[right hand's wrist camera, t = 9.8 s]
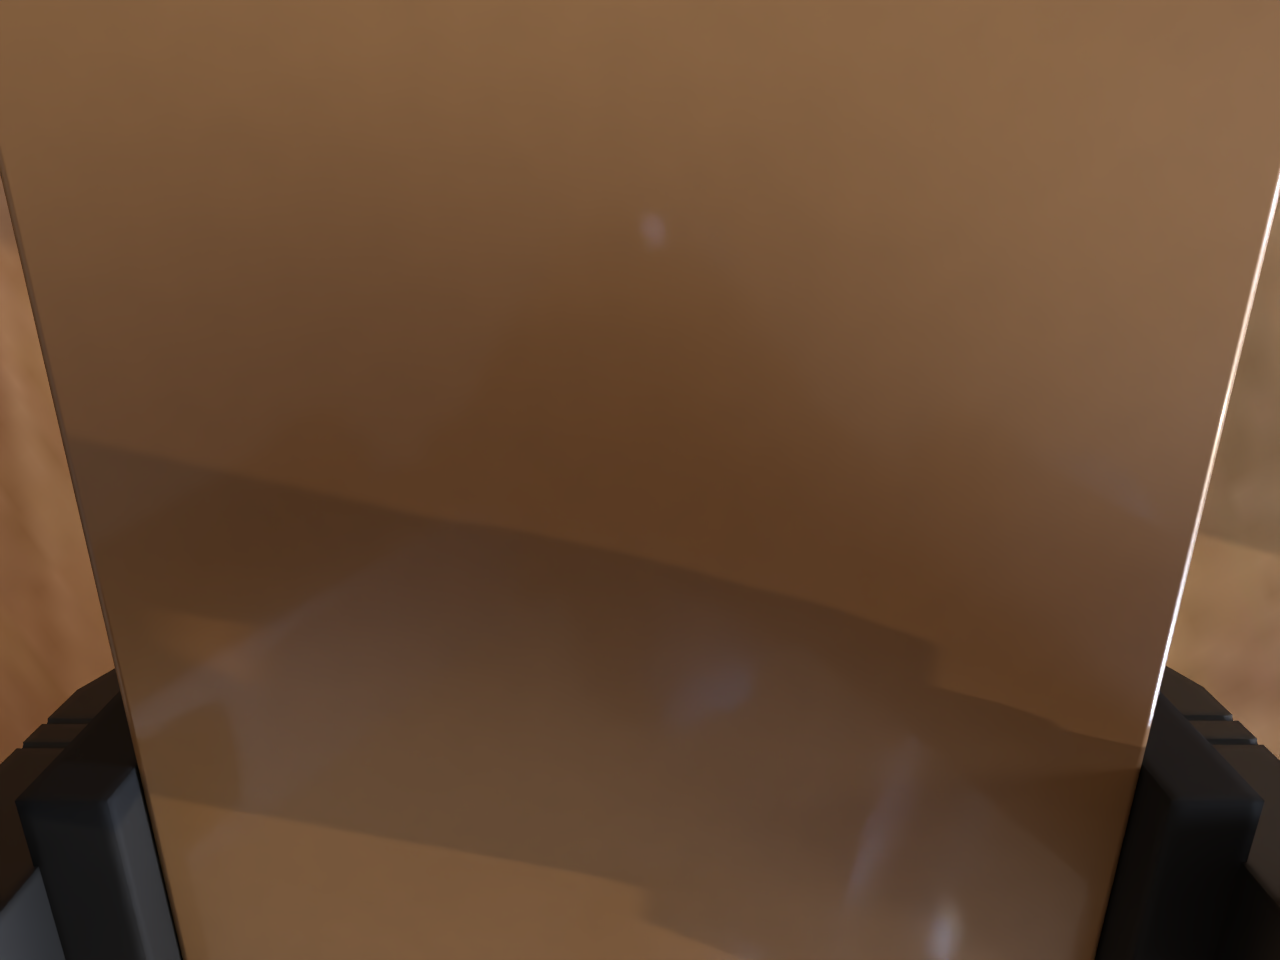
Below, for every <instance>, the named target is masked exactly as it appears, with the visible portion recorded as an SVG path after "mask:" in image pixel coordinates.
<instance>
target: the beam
mask: <svg viewBox="0 0 1280 960" xmlns="http://www.w3.org/2000/svg"><path fill="white" fill-rule="evenodd" d="M0 174H1V178H2V183H3V187H4V191H5V196H6V200H7V204H8V209H9V213H10V217H11V222H12V226H13V230H14V234H15V239H16V243H17V247H18V252H19V256H20V260H21V265H22V269H23V273H24V278H25V282H26V286H27V290H28V295H29V299H30V303H31V308H32V312H33V316H34V321H35V325H36V329H37V334H38V338H39V342H40V346H41V351H42V355H43V359H44V364H45V368H46V372H47V377H48V381H49V385H50V390H51V394H52V398H53V402H54V407H55V411H56V415H57V420H58V424H59V428H60V433H61V437H62V441H63V446H64V450H65V454H66V458H67V463H68V467H69V471H70V476H71V480H72V484H73V489H74V493H75V497H76V502H77V506H78V510H79V514H80V519H81V523H82V527H83V532H84V536H85V540H86V545H87V549H88V553H89V557H90V562H91V566H92V570H93V575H94V579H95V583H96V588H97V592H98V596H99V601H100V605H101V609H102V613H103V618H104V622H105V626H106V631H107V635H108V639H109V644H110V648H111V652H112V657H113V661H114V665H115V669H116V674H117V678H118V682H119V687H120V691H121V695H122V700H123V704H124V708H125V713H126V717H127V721H128V725H129V730H130V734H131V738H132V743H133V747H134V751H135V756H136V760H137V764H138V769H139V773H140V777H141V781H142V786H143V790H144V794H145V799H146V803H147V807H148V812H149V816H150V820H151V825H152V829H153V833H154V837H155V842H156V846H157V850H158V855H159V859H160V863H161V868H162V872H163V876H164V880H165V885H166V889H167V893H168V898H169V902H170V906H171V911H172V915H173V919H174V924H175V928H176V932H177V936H178V941H179V945H180V949H181V954H182V958H183V960H1095V956H1096V951H1097V947H1098V943H1099V939H1100V935H1101V931H1102V927H1103V922H1104V918H1105V914H1106V910H1107V906H1108V902H1109V898H1110V893H1111V889H1112V885H1113V881H1114V877H1115V873H1116V869H1117V864H1118V860H1119V856H1120V852H1121V848H1122V844H1123V840H1124V835H1125V831H1126V827H1127V823H1128V819H1129V815H1130V811H1131V806H1132V802H1133V798H1134V794H1135V790H1136V786H1137V782H1138V777H1139V773H1140V769H1141V765H1142V761H1143V757H1144V753H1145V748H1146V744H1147V740H1148V736H1149V732H1150V728H1151V724H1152V719H1153V715H1154V711H1155V707H1156V703H1157V699H1158V695H1159V690H1160V686H1161V682H1162V678H1163V674H1164V670H1165V666H1166V661H1167V657H1168V653H1169V649H1170V645H1171V641H1172V637H1173V632H1174V628H1175V624H1176V620H1177V616H1178V612H1179V608H1180V603H1181V599H1182V595H1183V591H1184V587H1185V583H1186V579H1187V574H1188V570H1189V566H1190V562H1191V558H1192V554H1193V550H1194V545H1195V541H1196V537H1197V533H1198V529H1199V525H1200V521H1201V516H1202V512H1203V508H1204V504H1205V500H1206V496H1207V492H1208V487H1209V483H1210V479H1211V475H1212V471H1213V467H1214V463H1215V458H1216V454H1217V450H1218V446H1219V442H1220V438H1221V434H1222V429H1223V425H1224V421H1225V417H1226V413H1227V409H1228V405H1229V400H1230V396H1231V392H1232V388H1233V384H1234V380H1235V376H1236V371H1237V367H1238V363H1239V359H1240V355H1241V351H1242V347H1243V342H1244V338H1245V334H1246V330H1247V326H1248V322H1249V318H1250V313H1251V309H1252V305H1253V301H1254V297H1255V293H1256V289H1257V284H1258V280H1259V276H1260V272H1261V268H1262V264H1263V260H1264V255H1265V251H1266V247H1267V243H1268V239H1269V235H1270V231H1271V226H1272V222H1273V218H1274V214H1275V210H1276V206H1277V202H1278V197H1279V193H1280V0H0Z"/></svg>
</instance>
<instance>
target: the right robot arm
mask: <svg viewBox="0 0 1280 960" xmlns="http://www.w3.org/2000/svg"><path fill="white" fill-rule="evenodd" d="M0 960H183V958H182V954H181V949H180V945H179V941H178V936H177V932H176V928H175V924H174V919H173V915H172V911H171V906H170V902H169V898H168V893H167V889H166V885H165V880H164V876H163V872H162V868H161V863H160V859H159V855H158V850H157V846H156V842H155V837H154V833H153V829H152V825H151V820H150V816H149V812H148V807H147V803H146V799H145V794H144V790H143V786H142V781H141V777H140V773H139V769H138V764H137V760H136V756H135V751H134V747H133V743H132V738H131V734H130V730H129V725H128V721H127V717H126V713H125V708H124V704H123V700H122V695H121V691H120V687H119V682H118V678H117V674H116V669H113V670H111V671H110V672H108V673H106V674H104V675H103V676H101V677H99V678H97V679H96V680H94V681H92V682H90V683H89V684H87V685H85V686H83V687H82V688H80V689H78V690H77V691H76V692H75V693H74V694H73V695H72V696H71V697H70V698H68V699H67V700H66V701H65V702H64V703H63V704H62V705H61V706H60V707H59V708H58V709H57V710H56V711H55V712H54V713H53V714H52V715H51V716H50V717H49V718H48V723H47V724H42V725H41V726H40V727H39V728H38V729H36V730H35V731H34V732H33V733H32V734H31V735H30V736H29V737H28V738H27V739H26V740H25V741H24V742H23V748H17V749H16V750H15V751H14V752H13V753H12V754H11V755H10V756H9V757H8V758H7V759H5V760H4V761H3V762H2V763H1V764H0ZM1095 960H1280V761H1279V760H1278V759H1277V758H1276V757H1275V756H1274V755H1273V754H1272V753H1271V752H1270V751H1269V750H1268V749H1267V748H1266V747H1265V746H1264V745H1258V744H1257V738H1256V737H1255V736H1253V735H1252V734H1251V733H1250V732H1249V731H1248V730H1247V729H1246V728H1245V727H1244V726H1243V725H1242V724H1241V723H1240V722H1239V721H1233V719H1232V714H1231V713H1230V712H1229V711H1227V710H1226V709H1225V708H1224V707H1223V706H1222V705H1221V704H1220V703H1219V702H1218V701H1217V700H1216V699H1215V698H1214V697H1213V696H1212V695H1211V694H1210V693H1209V692H1208V691H1207V690H1206V689H1205V688H1204V687H1202V686H1200V685H1199V684H1197V683H1195V682H1193V681H1192V680H1190V679H1188V678H1186V677H1185V676H1183V675H1181V674H1179V673H1178V672H1176V671H1174V670H1172V669H1171V668H1169V667H1167V666H1165V670H1164V674H1163V678H1162V682H1161V686H1160V690H1159V695H1158V699H1157V703H1156V707H1155V711H1154V715H1153V719H1152V724H1151V728H1150V732H1149V736H1148V740H1147V744H1146V748H1145V753H1144V757H1143V761H1142V765H1141V769H1140V773H1139V777H1138V782H1137V786H1136V790H1135V794H1134V798H1133V802H1132V806H1131V811H1130V815H1129V819H1128V823H1127V827H1126V831H1125V835H1124V840H1123V844H1122V848H1121V852H1120V856H1119V860H1118V864H1117V869H1116V873H1115V877H1114V881H1113V885H1112V889H1111V893H1110V898H1109V902H1108V906H1107V910H1106V914H1105V918H1104V922H1103V927H1102V931H1101V935H1100V939H1099V943H1098V947H1097V951H1096V956H1095Z"/></svg>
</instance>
